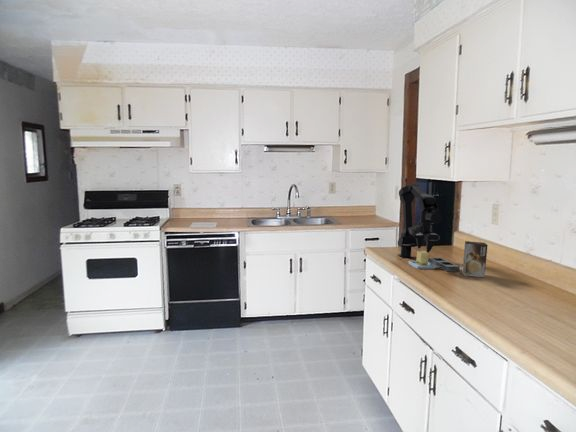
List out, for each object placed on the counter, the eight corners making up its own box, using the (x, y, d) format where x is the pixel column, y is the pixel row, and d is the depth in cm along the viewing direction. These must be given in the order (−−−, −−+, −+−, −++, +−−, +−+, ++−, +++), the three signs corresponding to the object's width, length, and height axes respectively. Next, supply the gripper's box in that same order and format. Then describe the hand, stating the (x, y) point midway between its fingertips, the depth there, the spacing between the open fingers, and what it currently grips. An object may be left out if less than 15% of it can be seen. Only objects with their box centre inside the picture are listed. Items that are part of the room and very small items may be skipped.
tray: (408, 263, 208) (408, 260, 208) (425, 263, 210) (426, 260, 210) (417, 268, 199) (417, 266, 198) (435, 268, 200) (435, 265, 200)
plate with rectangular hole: (428, 262, 213) (428, 257, 213) (440, 262, 215) (440, 257, 214) (446, 271, 196) (446, 266, 196) (459, 271, 197) (459, 266, 197)
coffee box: (481, 274, 194) (485, 242, 191) (484, 277, 188) (488, 245, 185) (461, 272, 196) (464, 240, 194) (464, 275, 190) (467, 243, 187)
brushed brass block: (423, 263, 207) (424, 251, 206) (427, 266, 203) (428, 252, 202) (416, 263, 206) (417, 250, 205) (419, 266, 202) (421, 252, 201)
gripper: (403, 217, 209) (400, 246, 211) (420, 223, 190) (417, 254, 193) (422, 218, 210) (420, 246, 213) (441, 223, 192) (438, 254, 194)
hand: (423, 250), depth 203 cm, fingers open, 9 cm apart
